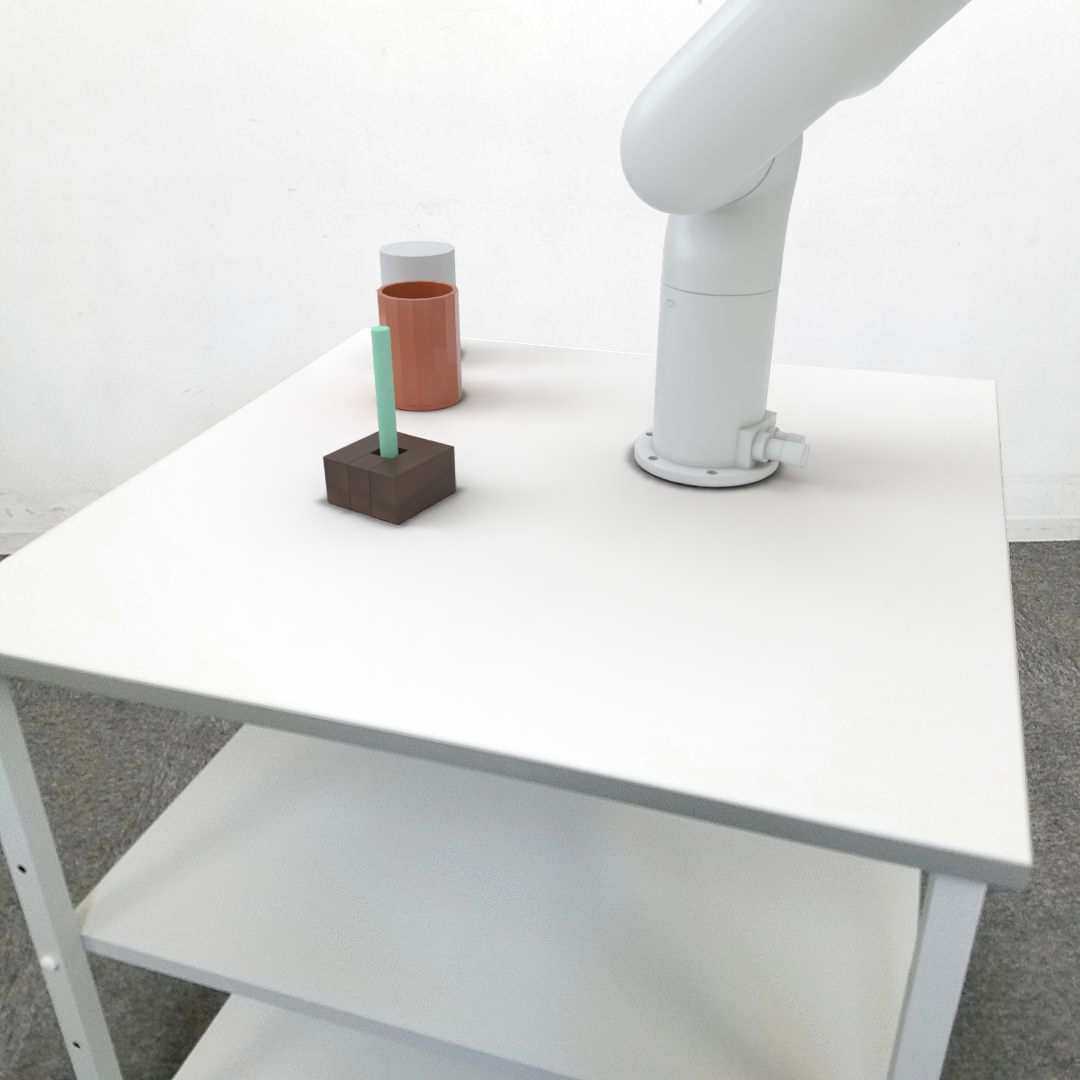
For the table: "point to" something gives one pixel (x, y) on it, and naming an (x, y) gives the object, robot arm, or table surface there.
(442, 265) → the light grey cylinder
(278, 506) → the table surface
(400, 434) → the holder
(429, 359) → the tumbler
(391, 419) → the straw
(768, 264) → the robot arm
